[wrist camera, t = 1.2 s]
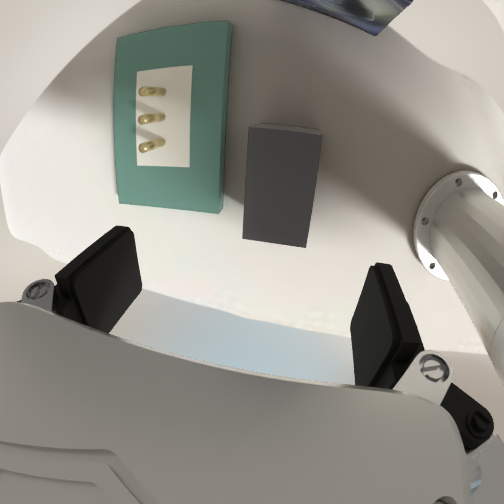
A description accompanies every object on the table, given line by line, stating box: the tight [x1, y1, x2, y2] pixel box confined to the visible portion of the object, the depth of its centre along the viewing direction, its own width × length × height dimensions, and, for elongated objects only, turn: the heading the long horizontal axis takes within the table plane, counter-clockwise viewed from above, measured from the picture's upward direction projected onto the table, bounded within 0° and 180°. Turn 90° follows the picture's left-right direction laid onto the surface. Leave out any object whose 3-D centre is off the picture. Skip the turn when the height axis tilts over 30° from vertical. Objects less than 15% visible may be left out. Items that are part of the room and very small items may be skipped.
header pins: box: [138, 86, 166, 153], centre depth 22 cm, size 1×6×4 cm, turn 177°
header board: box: [114, 21, 232, 214], centre depth 24 cm, size 12×19×2 cm, turn 177°
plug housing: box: [242, 123, 322, 248], centre depth 23 cm, size 5×9×6 cm, turn 177°
